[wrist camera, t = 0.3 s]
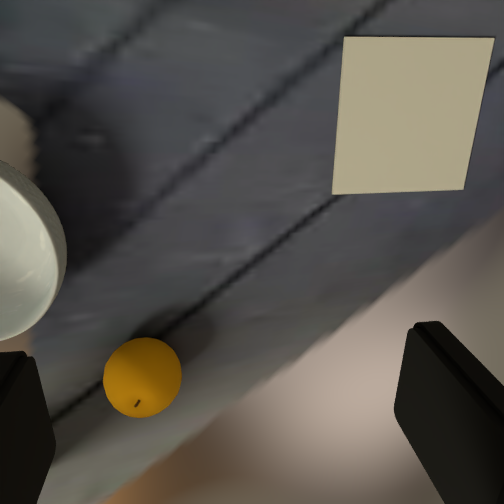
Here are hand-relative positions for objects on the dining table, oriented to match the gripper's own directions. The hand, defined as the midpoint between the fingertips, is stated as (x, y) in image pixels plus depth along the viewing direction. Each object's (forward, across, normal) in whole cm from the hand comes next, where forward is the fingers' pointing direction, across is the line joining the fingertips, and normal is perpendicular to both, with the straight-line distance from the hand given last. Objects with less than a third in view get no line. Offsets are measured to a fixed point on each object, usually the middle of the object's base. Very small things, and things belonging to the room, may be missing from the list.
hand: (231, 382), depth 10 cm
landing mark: (+31, -20, -3) cm, 36 cm away
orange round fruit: (+31, +7, +22) cm, 39 cm away
